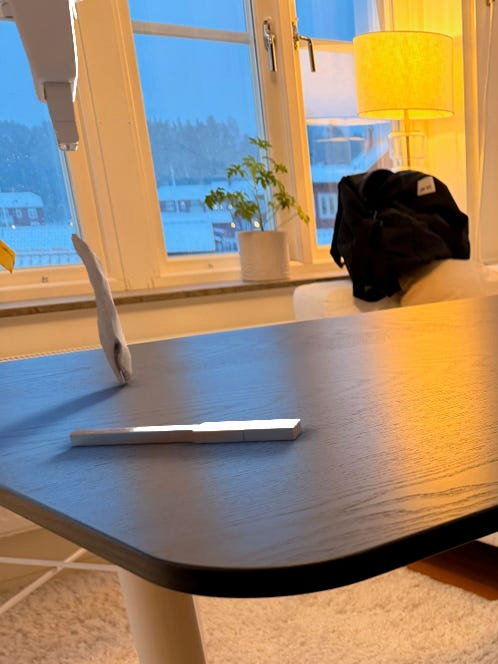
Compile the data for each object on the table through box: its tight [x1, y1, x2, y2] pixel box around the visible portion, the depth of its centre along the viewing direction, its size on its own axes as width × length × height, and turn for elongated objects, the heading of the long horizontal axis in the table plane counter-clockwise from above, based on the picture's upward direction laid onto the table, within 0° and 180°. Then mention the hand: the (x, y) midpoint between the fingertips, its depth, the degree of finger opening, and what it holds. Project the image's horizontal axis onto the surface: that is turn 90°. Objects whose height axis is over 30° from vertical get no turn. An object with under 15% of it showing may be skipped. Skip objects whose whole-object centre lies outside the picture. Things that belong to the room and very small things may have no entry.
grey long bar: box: [69, 418, 302, 447], centre depth 70 cm, size 18×3×1 cm, turn 90°
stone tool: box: [70, 233, 133, 384], centre depth 92 cm, size 9×3×15 cm, turn 29°
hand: (69, 147), depth 86 cm, fingers open, 8 cm apart
